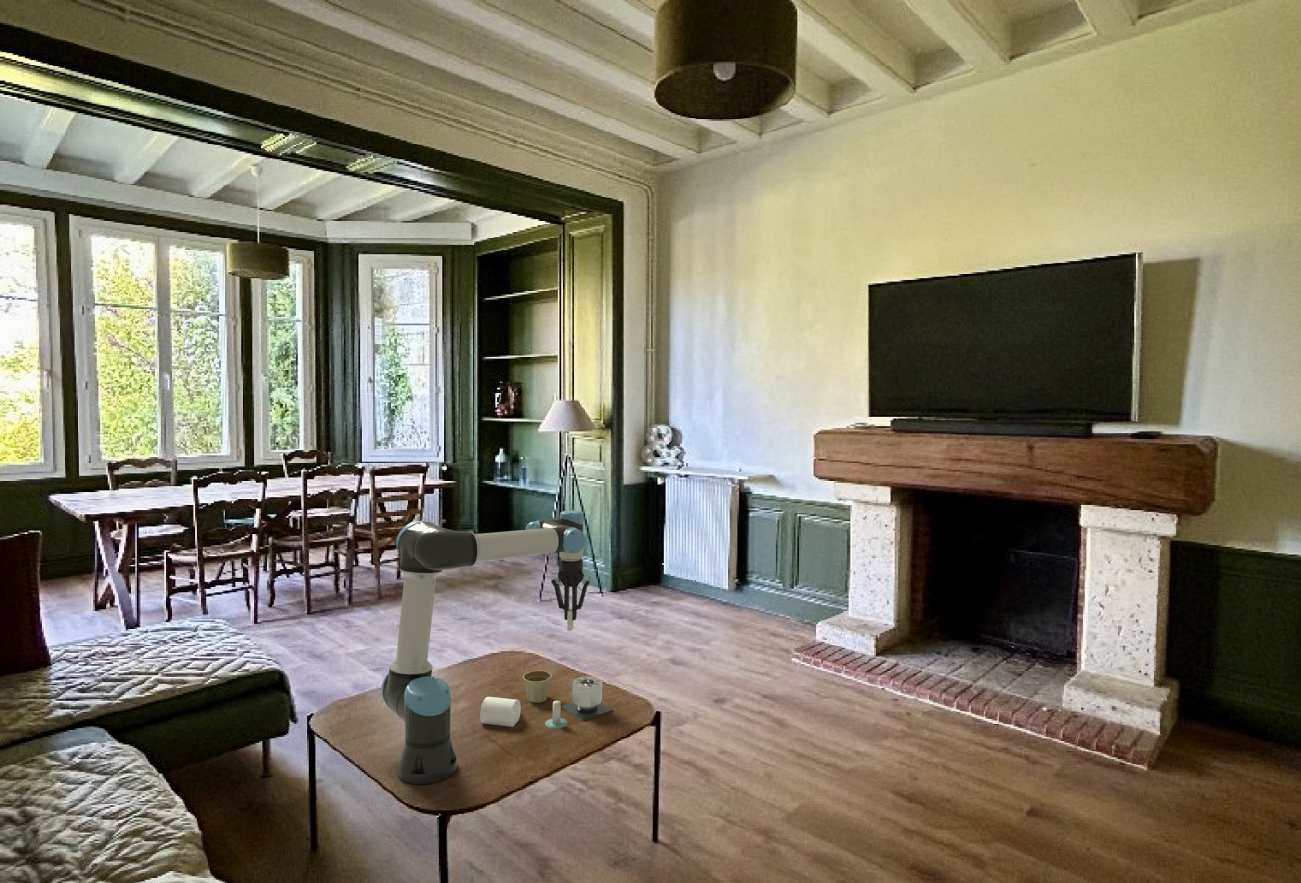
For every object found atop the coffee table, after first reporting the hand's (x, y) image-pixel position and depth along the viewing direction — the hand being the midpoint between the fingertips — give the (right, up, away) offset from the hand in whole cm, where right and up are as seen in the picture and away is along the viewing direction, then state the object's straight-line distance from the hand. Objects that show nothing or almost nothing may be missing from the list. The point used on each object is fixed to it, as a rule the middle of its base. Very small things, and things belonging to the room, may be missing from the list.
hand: (570, 629), depth 237 cm
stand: (-2, -25, -16) cm, 30 cm away
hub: (+6, -25, -6) cm, 26 cm away
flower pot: (-11, -24, +2) cm, 27 cm away
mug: (-19, -25, -13) cm, 34 cm away
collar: (+6, -21, -6) cm, 23 cm away
